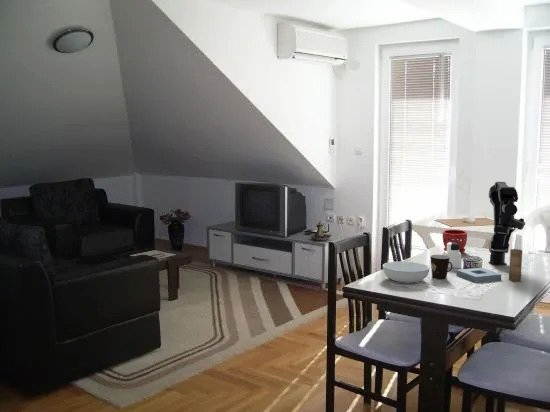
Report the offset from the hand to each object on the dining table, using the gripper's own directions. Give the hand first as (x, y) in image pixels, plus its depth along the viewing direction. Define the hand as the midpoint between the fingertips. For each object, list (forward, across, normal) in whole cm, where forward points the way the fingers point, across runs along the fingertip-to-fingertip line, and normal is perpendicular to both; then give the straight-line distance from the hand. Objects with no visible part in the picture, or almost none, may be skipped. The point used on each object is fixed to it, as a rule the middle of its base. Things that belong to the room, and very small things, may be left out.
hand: (504, 244), depth 275 cm
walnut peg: (+13, -15, -9) cm, 22 cm away
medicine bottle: (+13, -4, +24) cm, 27 cm away
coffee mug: (+13, -31, +20) cm, 39 cm away
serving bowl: (+13, -44, +32) cm, 56 cm away
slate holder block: (+13, -19, +6) cm, 24 cm away
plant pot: (+13, +30, +34) cm, 47 cm away
